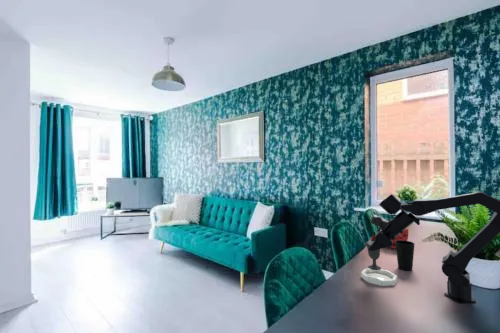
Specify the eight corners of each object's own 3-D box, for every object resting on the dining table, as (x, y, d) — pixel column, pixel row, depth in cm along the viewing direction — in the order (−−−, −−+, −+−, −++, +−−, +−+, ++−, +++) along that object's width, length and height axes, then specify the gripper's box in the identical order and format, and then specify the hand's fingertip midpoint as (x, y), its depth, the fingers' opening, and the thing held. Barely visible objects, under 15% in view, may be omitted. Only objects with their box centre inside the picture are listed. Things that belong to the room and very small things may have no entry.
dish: (403, 284, 105) (403, 279, 105) (373, 286, 103) (373, 281, 103) (384, 272, 118) (383, 267, 118) (356, 273, 116) (356, 269, 116)
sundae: (371, 271, 106) (370, 234, 106) (362, 265, 112) (361, 230, 113) (387, 270, 107) (385, 233, 107) (377, 264, 113) (375, 229, 113)
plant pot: (413, 250, 147) (413, 228, 147) (390, 250, 147) (390, 229, 147) (400, 243, 160) (400, 223, 160) (379, 243, 160) (378, 224, 160)
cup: (417, 272, 117) (417, 245, 117) (399, 271, 118) (398, 244, 118) (410, 265, 124) (410, 240, 124) (393, 264, 126) (392, 239, 126)
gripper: (384, 205, 116) (358, 228, 121) (380, 212, 100) (351, 238, 105) (405, 225, 112) (378, 247, 117) (405, 234, 96) (373, 260, 101)
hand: (370, 248), depth 110 cm, fingers closed on sundae, 7 cm apart
